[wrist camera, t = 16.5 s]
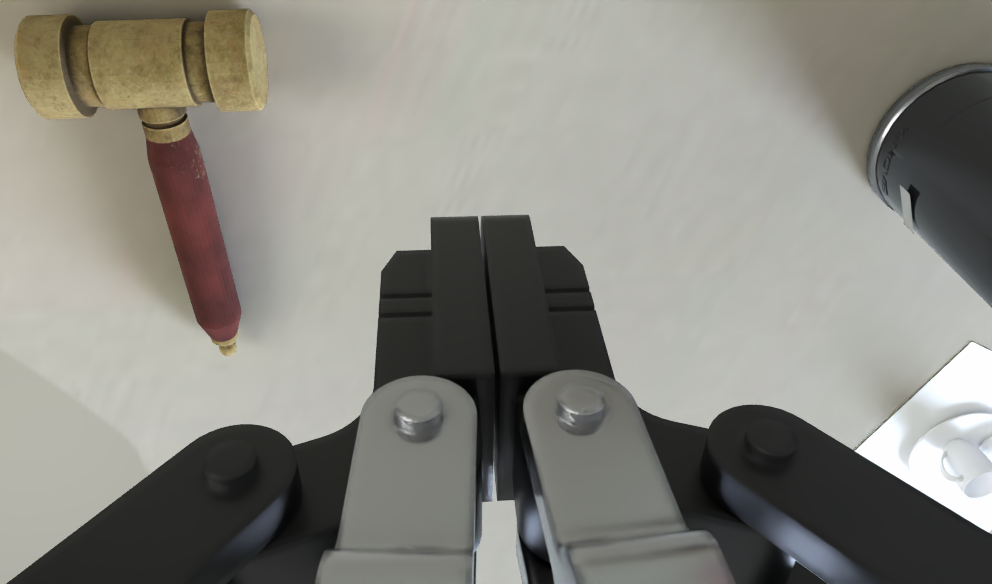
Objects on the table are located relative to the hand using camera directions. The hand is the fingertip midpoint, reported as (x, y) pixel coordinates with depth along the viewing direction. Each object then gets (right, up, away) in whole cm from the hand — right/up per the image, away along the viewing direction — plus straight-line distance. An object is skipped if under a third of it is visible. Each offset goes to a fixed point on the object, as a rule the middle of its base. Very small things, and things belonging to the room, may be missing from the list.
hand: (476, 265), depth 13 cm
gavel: (-16, +5, +32) cm, 36 cm away
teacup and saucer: (+38, -14, +54) cm, 68 cm away
